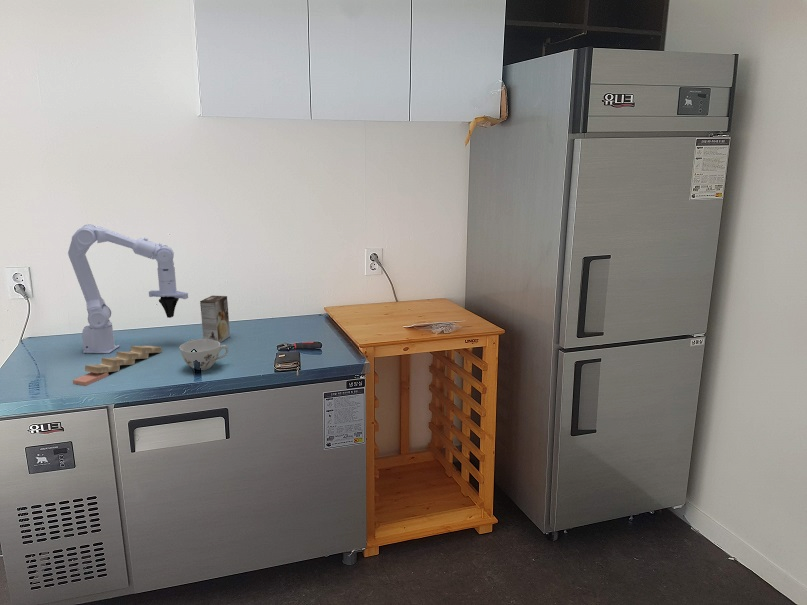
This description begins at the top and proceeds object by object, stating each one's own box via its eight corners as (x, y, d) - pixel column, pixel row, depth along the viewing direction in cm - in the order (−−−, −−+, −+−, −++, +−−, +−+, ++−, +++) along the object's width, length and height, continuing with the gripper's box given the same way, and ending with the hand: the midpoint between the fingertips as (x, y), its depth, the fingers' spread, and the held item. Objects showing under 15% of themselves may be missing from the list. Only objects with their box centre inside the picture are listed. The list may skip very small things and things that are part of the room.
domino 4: (161, 352, 218) (141, 353, 210) (150, 350, 220) (130, 351, 211) (161, 347, 218) (142, 347, 210) (150, 345, 220) (131, 346, 211)
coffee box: (215, 335, 238) (212, 294, 234) (230, 336, 236) (227, 295, 232) (202, 343, 229) (199, 300, 225) (218, 344, 228) (215, 301, 224)
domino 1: (119, 370, 200) (96, 373, 192) (107, 368, 202) (84, 371, 194) (119, 365, 200) (97, 367, 192) (107, 363, 202) (85, 365, 194)
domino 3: (148, 358, 212) (128, 359, 204) (136, 356, 214) (116, 357, 206) (148, 353, 212) (128, 353, 204) (137, 351, 214) (117, 351, 206)
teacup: (183, 376, 196) (181, 352, 194) (179, 364, 207) (177, 341, 205) (232, 370, 202) (230, 346, 200) (226, 358, 213) (224, 336, 211)
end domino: (108, 377, 196) (86, 387, 188) (96, 375, 198) (73, 385, 190) (108, 372, 196) (85, 382, 188) (95, 370, 198) (72, 380, 189)
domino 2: (134, 364, 207) (112, 365, 198) (122, 362, 208) (101, 363, 200) (135, 358, 207) (113, 360, 198) (123, 356, 208) (101, 357, 200)
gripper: (142, 281, 219) (145, 318, 222) (179, 283, 216) (182, 321, 219) (154, 277, 225) (157, 313, 229) (190, 279, 222) (193, 316, 226)
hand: (170, 316), depth 224 cm, fingers closed
